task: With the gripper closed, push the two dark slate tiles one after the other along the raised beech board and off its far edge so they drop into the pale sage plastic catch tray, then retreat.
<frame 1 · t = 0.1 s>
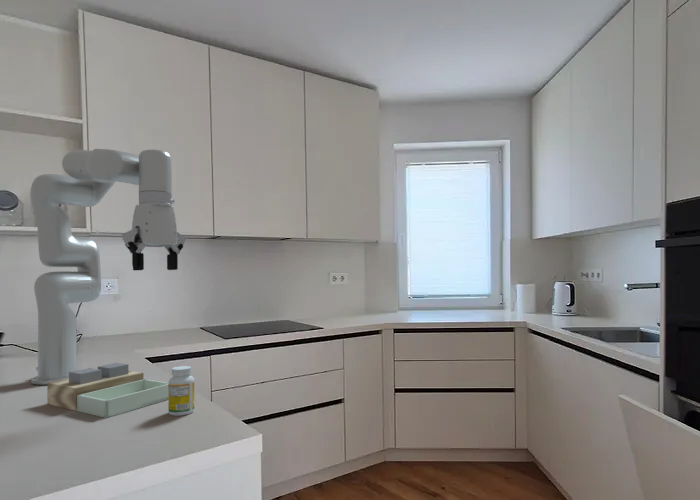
hand: (155, 270, 114), 31 cm above the table, fingers open, 9 cm apart
catch tray: (127, 404, 108), on the table
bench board: (97, 398, 114), on the table
tile b: (85, 381, 111), point 5 cm above the table, touching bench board
tile a: (113, 375, 117), point 5 cm above the table, touching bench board
supplement bottle: (181, 413, 100), on the table
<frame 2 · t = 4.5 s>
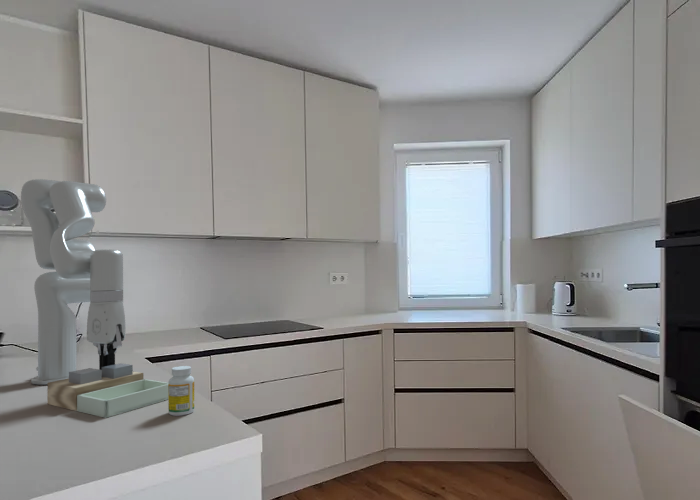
hand: (107, 369, 118), 6 cm above the table, fingers closed
tile a: (117, 375, 116), point 5 cm above the table, touching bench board, gripper
everything else where it was.
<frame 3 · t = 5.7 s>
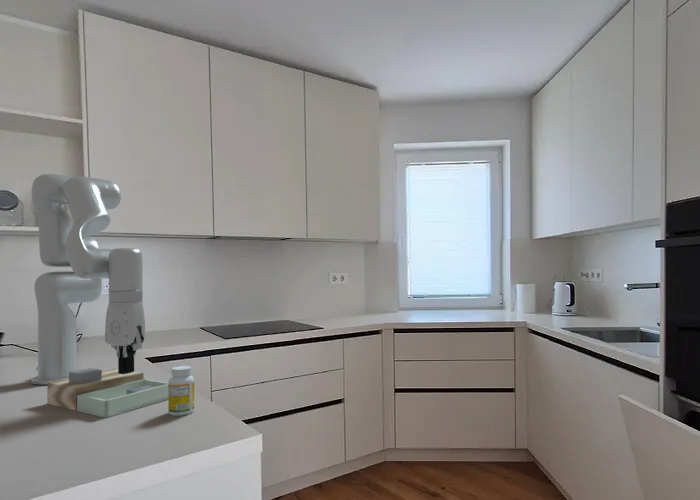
hand: (126, 372, 114), 6 cm above the table, fingers closed
tile a: (142, 388, 110), point 3 cm above the table, tilted 180°, touching catch tray
everything else where it was.
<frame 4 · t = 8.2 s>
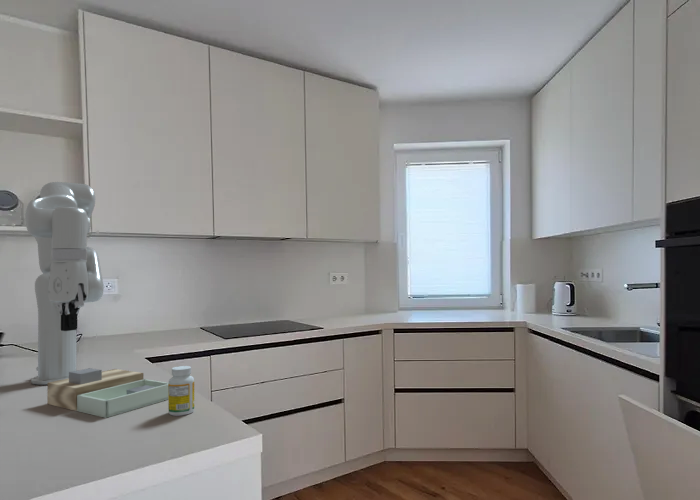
hand: (69, 330, 116), 17 cm above the table, fingers closed
nothing on the table moved.
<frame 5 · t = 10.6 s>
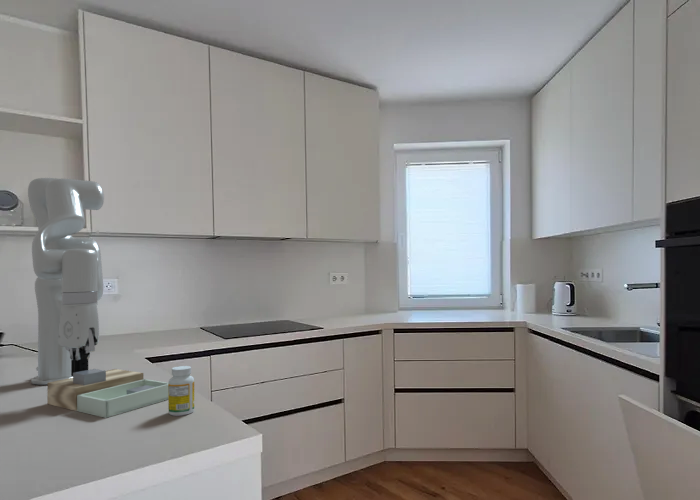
hand: (79, 375, 112), 6 cm above the table, fingers closed
tile b: (89, 381, 110), point 5 cm above the table, touching gripper
everything else where it was.
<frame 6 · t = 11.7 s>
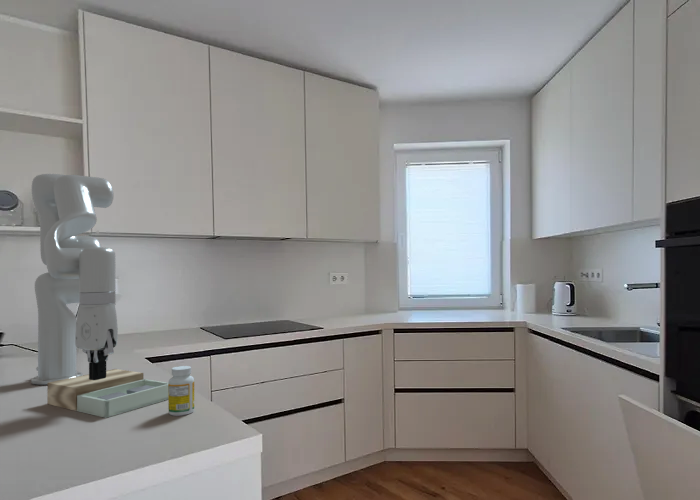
hand: (97, 378, 108), 6 cm above the table, fingers closed
tile b: (114, 395, 104), point 3 cm above the table, tilted 180°, touching catch tray
everything else where it was.
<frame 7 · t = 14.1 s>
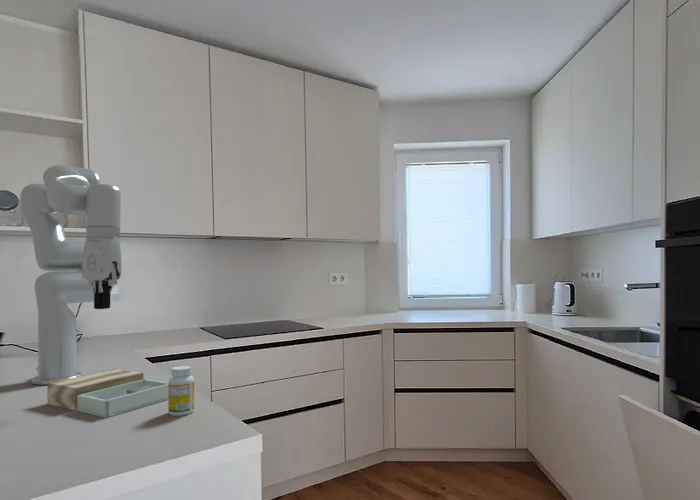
hand: (102, 308, 115), 22 cm above the table, fingers closed
nothing on the table moved.
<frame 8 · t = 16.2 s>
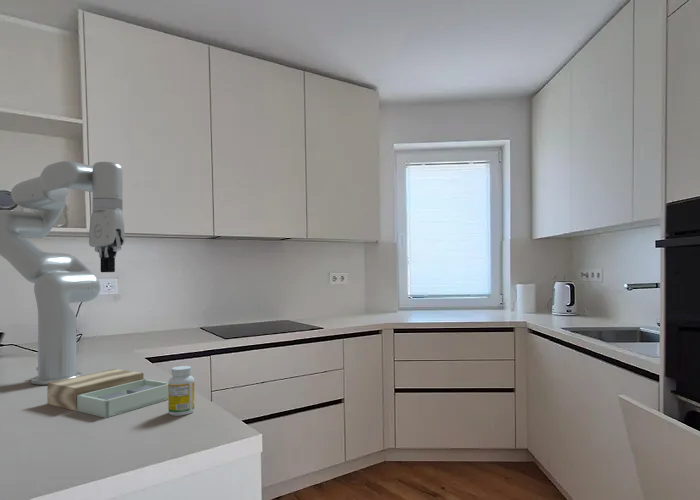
hand: (107, 272, 129), 31 cm above the table, fingers closed
nothing on the table moved.
at the end: tile a inside the target area on the catch tray (3.5 cm from its centre), point 3.0 cm above the catch tray's base; tile b inside the target area on the catch tray (4.1 cm from its centre), point 3.0 cm above the catch tray's base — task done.
